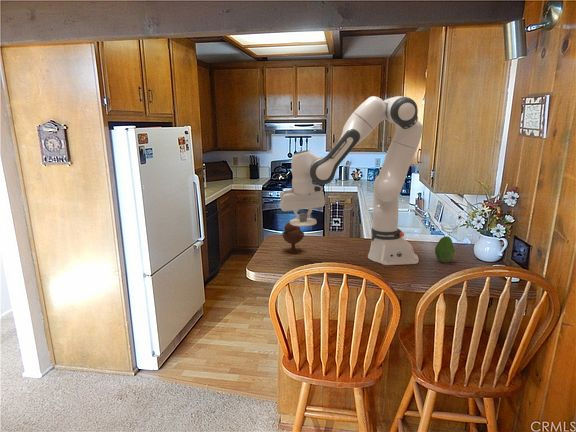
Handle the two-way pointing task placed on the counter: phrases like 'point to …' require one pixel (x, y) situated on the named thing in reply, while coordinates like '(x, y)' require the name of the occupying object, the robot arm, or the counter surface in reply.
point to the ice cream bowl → (292, 236)
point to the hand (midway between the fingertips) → (303, 218)
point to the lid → (303, 221)
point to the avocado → (444, 249)
